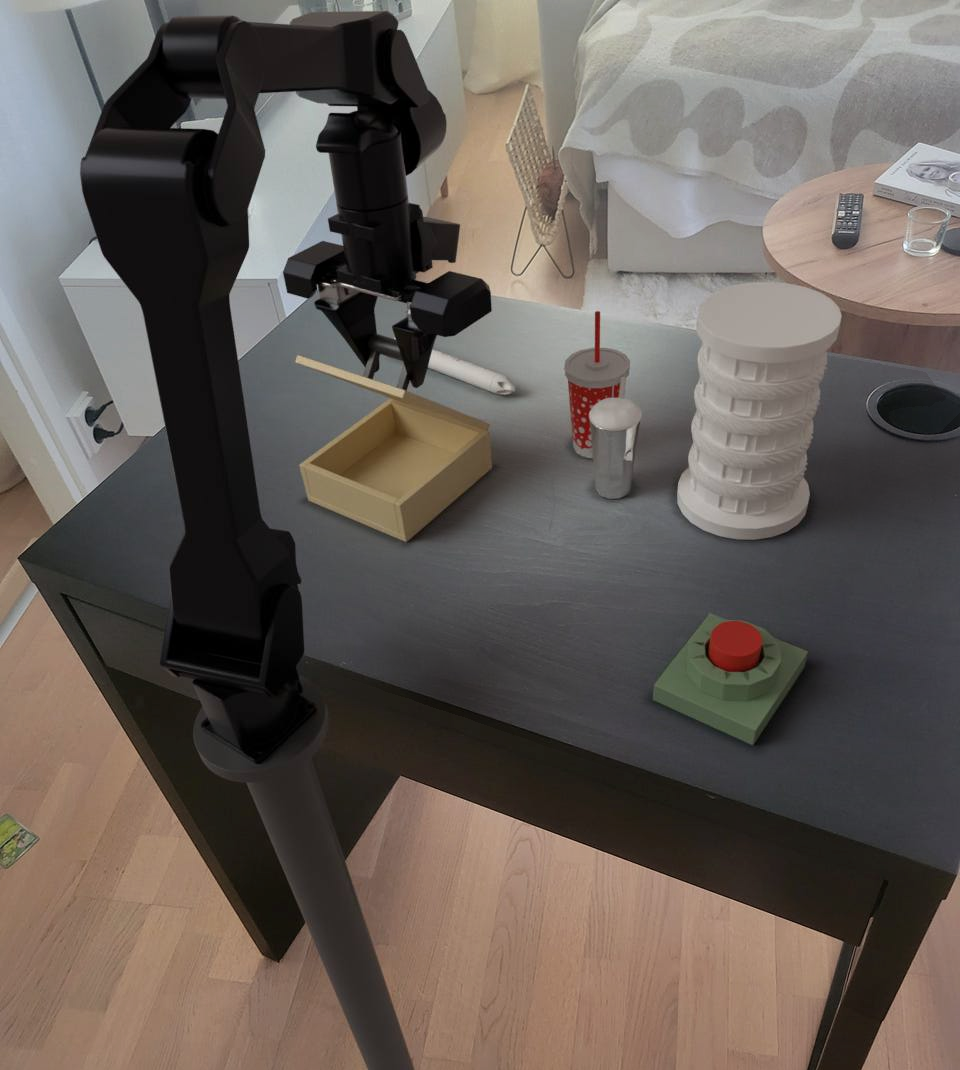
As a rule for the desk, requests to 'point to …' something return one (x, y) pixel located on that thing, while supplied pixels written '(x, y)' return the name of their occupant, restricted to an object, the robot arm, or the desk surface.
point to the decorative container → (755, 407)
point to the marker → (470, 373)
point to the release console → (729, 684)
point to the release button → (735, 646)
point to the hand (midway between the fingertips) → (396, 378)
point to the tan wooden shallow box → (397, 468)
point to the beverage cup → (592, 385)
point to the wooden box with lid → (399, 393)
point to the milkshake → (614, 443)
